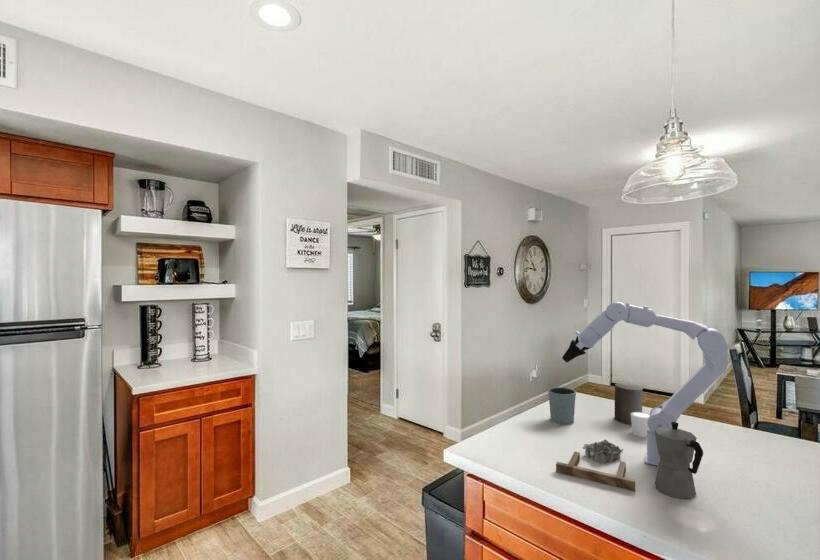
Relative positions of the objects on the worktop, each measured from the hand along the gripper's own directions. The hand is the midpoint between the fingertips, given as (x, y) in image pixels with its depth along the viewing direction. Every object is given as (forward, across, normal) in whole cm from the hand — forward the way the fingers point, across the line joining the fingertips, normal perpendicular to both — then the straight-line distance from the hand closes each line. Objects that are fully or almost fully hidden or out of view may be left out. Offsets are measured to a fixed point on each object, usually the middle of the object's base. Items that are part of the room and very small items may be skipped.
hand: (566, 357), depth 139 cm
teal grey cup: (+26, -19, +16) cm, 35 cm away
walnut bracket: (+12, +20, +28) cm, 36 cm away
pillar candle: (+11, -33, +32) cm, 47 cm away
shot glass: (+7, -20, +36) cm, 42 cm away
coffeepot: (-1, +20, +42) cm, 47 cm away
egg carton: (+13, +7, +28) cm, 32 cm away
